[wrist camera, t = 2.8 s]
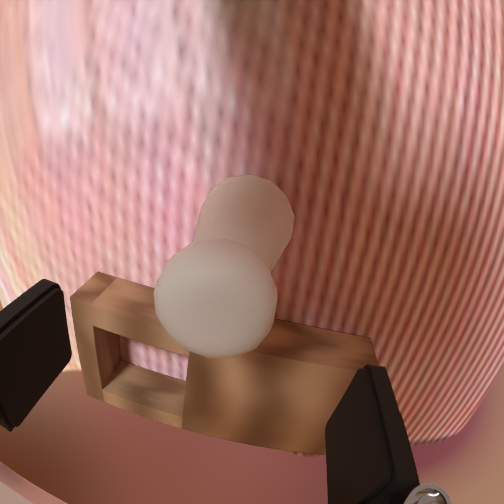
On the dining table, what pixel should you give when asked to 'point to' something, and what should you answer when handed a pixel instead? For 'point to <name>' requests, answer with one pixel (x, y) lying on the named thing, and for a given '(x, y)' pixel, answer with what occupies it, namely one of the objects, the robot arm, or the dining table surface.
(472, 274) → the dining table surface
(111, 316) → the caddy
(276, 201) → the salt shaker
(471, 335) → the dining table surface
